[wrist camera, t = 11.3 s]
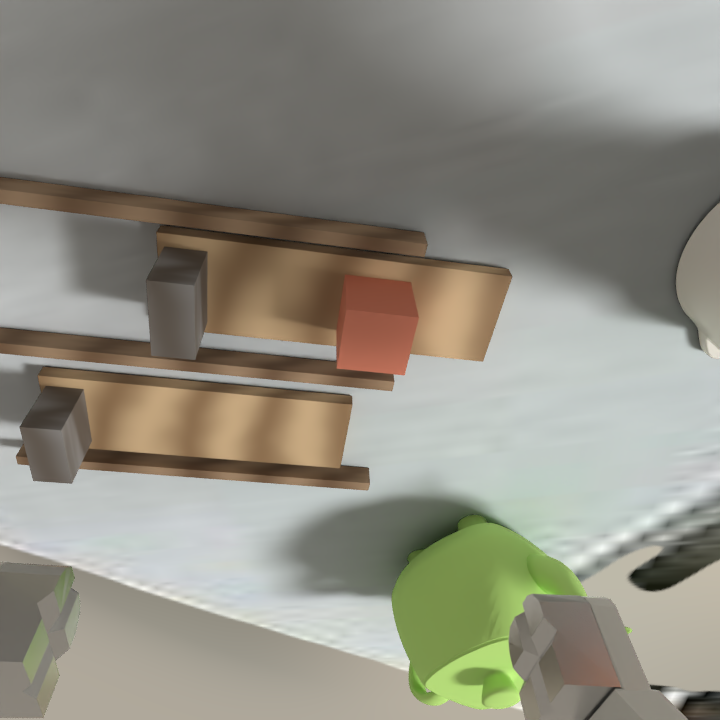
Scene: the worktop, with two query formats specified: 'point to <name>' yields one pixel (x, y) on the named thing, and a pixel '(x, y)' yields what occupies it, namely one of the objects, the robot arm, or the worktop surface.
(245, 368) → the lane rails
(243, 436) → the strip
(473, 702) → the teapot
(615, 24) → the worktop surface
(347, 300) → the cube
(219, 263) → the strip
